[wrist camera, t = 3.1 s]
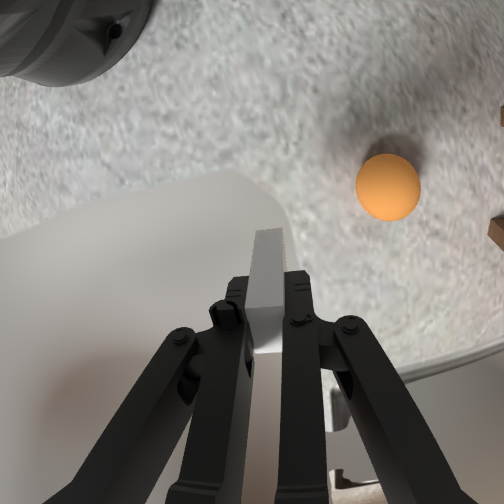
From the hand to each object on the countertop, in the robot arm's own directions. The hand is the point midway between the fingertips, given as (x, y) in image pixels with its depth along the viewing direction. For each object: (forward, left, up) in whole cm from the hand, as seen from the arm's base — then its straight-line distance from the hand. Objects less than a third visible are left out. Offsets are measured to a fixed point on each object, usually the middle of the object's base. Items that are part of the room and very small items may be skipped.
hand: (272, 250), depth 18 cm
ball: (0, +9, -7) cm, 12 cm away
